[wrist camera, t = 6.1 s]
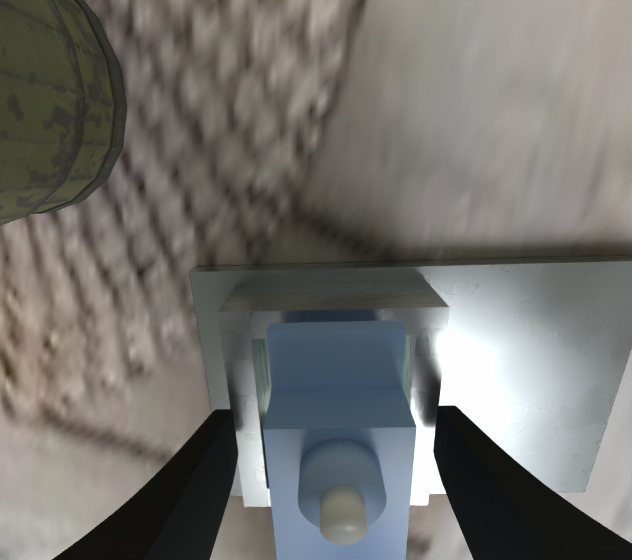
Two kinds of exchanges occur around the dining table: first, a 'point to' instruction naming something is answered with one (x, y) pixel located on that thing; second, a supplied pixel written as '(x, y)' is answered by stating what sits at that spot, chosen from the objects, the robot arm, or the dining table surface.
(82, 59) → the thermos
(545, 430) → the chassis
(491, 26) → the dining table surface
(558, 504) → the robot arm
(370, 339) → the servo
